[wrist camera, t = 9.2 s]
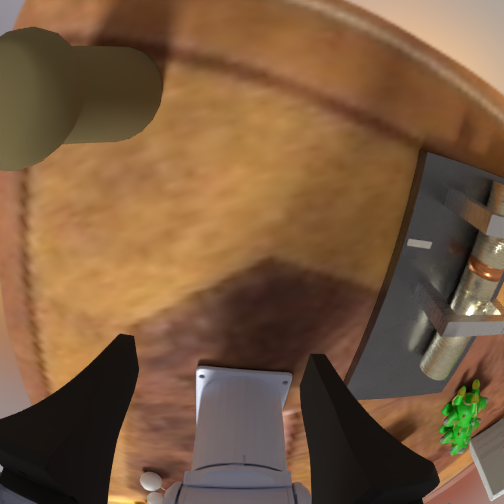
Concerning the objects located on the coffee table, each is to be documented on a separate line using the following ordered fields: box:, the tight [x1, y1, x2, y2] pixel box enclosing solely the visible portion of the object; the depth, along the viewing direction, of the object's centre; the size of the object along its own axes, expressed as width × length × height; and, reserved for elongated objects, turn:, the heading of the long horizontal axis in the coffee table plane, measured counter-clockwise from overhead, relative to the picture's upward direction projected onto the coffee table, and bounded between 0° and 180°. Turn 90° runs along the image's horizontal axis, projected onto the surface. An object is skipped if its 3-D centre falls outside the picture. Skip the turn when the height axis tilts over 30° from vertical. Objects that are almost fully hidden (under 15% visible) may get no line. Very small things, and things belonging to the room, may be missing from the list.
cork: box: [0, 27, 163, 171], centre depth 11 cm, size 6×6×11 cm
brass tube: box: [420, 181, 504, 380], centre depth 19 cm, size 16×3×3 cm
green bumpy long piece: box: [439, 379, 488, 455], centre depth 29 cm, size 7×18×4 cm, turn 22°
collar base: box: [343, 150, 504, 400], centre depth 20 cm, size 22×12×6 cm, turn 173°
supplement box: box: [470, 418, 504, 501], centre depth 31 cm, size 7×7×13 cm
